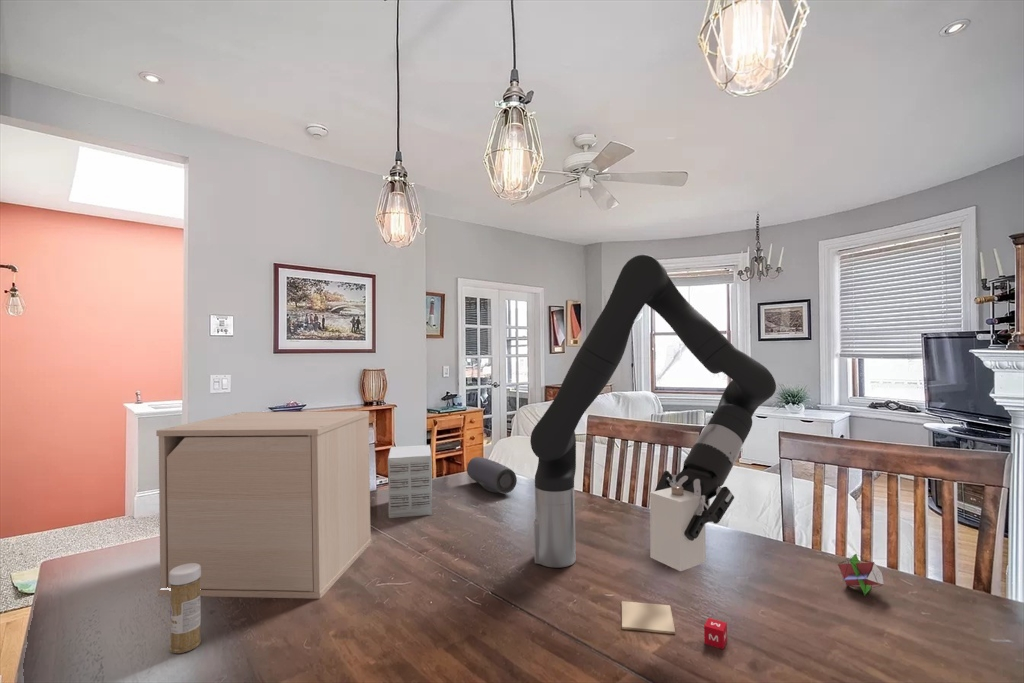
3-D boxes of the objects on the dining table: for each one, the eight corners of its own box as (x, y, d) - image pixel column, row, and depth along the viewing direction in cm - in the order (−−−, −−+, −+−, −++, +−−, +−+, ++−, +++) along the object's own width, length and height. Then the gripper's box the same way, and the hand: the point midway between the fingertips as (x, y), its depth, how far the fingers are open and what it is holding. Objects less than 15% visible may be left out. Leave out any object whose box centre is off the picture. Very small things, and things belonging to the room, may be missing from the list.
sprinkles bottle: (166, 648, 85) (165, 568, 85) (196, 635, 89) (195, 559, 89) (175, 658, 82) (174, 576, 82) (205, 645, 86) (204, 566, 86)
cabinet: (158, 595, 104) (156, 430, 104) (243, 541, 133) (242, 412, 133) (320, 598, 101) (317, 428, 102) (371, 542, 130) (369, 410, 130)
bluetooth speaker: (518, 494, 170) (518, 465, 170) (494, 499, 165) (494, 469, 165) (488, 480, 189) (487, 453, 190) (465, 484, 185) (465, 456, 185)
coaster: (621, 628, 88) (621, 626, 88) (621, 603, 97) (621, 601, 97) (675, 634, 86) (675, 631, 86) (670, 607, 95) (670, 605, 95)
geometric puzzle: (824, 575, 102) (851, 551, 98) (836, 565, 107) (862, 542, 103) (858, 607, 98) (887, 583, 94) (868, 595, 102) (896, 572, 98)
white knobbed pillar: (680, 571, 83) (680, 494, 83) (650, 557, 88) (650, 485, 88) (705, 562, 86) (705, 488, 86) (674, 549, 92) (674, 480, 92)
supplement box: (391, 501, 165) (390, 446, 165) (431, 498, 168) (430, 444, 168) (387, 518, 148) (386, 457, 148) (432, 515, 151) (431, 455, 151)
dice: (704, 643, 83) (704, 625, 83) (708, 635, 86) (708, 617, 86) (723, 649, 82) (723, 631, 82) (727, 640, 84) (726, 622, 84)
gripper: (672, 435, 97) (629, 507, 91) (740, 448, 85) (696, 532, 79) (690, 459, 100) (649, 530, 94) (758, 475, 88) (717, 557, 82)
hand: (671, 530), depth 86 cm, fingers closed on white knobbed pillar, 6 cm apart
